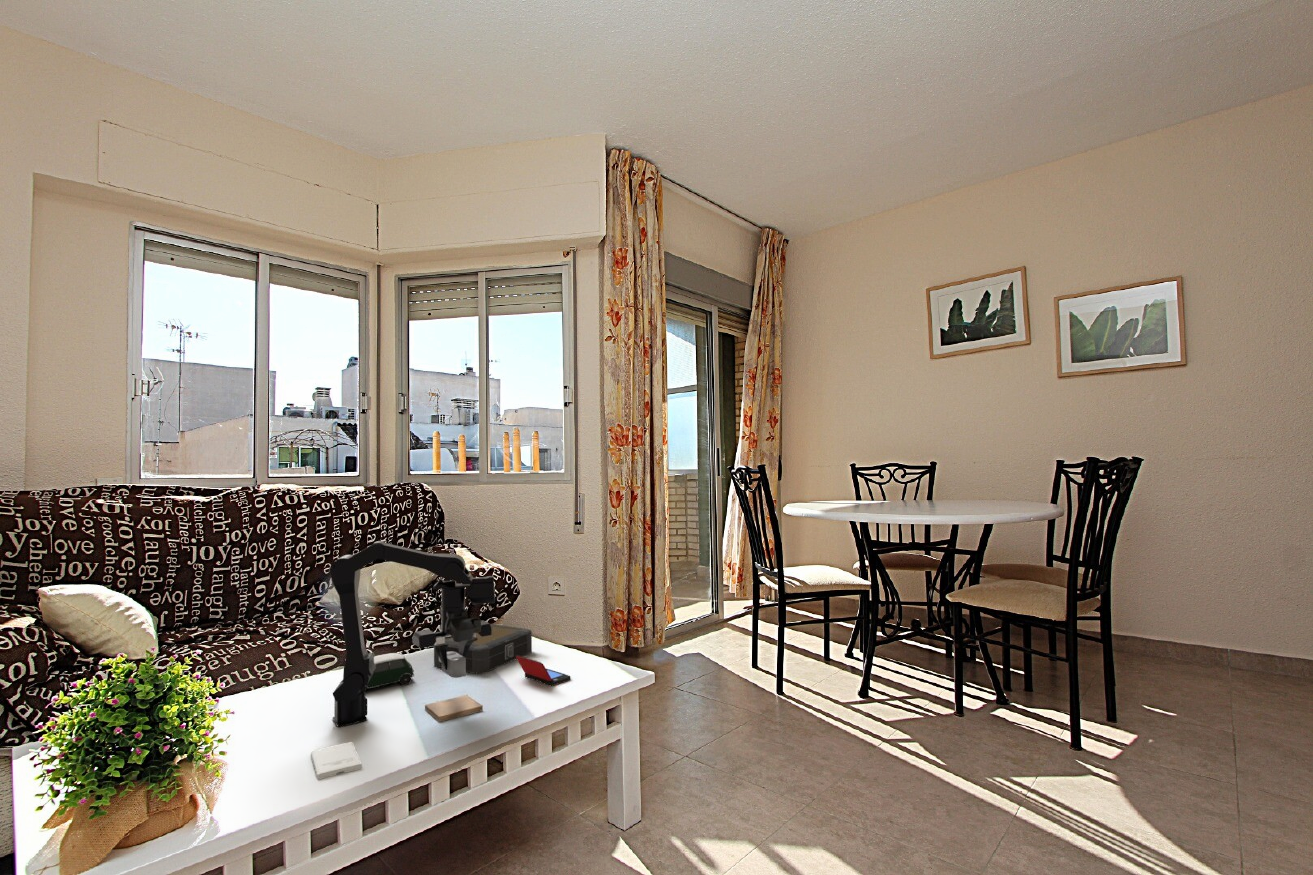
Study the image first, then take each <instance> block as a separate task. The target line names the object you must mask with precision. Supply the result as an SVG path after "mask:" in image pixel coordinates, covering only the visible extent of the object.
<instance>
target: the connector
mask: <svg viewBox="0 0 1313 875" xmlns="http://www.w3.org/2000/svg"><path fill="white" fill-rule="evenodd" d="M439 661H440V662H441V660H440V657H439ZM441 663H442V662H441ZM447 663H448V665H447V670H445V669H444V667H443V665H442V668H441V671H442V672H443V673H445V674H446V675H448V677H451V678H453V679H454V678H455V679H457V678H462V677H465V676H466V675H467V674H466V673H467V672H466V658H465V657H463V656H462V655H460V654H458V653H457V652H453V651H450V652H447Z"/></svg>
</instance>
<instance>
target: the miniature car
mask: <svg viewBox="0 0 1313 875" xmlns="http://www.w3.org/2000/svg"><path fill="white" fill-rule="evenodd" d="M374 663H375V665H376V669H375V670H374V673H373V676H372V677H371V679H370V681H369V682H368V684H367V685H366V687H365V688H364V689H362V690H363V691H364V692H365V693H366V690H367V689H371V688H376V687H381V686H385V685H389V684H395V683H397V682H399V683H400V684H401V685H404V686H405V685H409V684H410V683H411V681H412V678H413V677H415V673H414V672H415V670H414V668H413V666H412V663H410V662H409V661H408V660H407V659H406V656H405V655H404V654H402V653H398V652H391V653H390V652H389V653H384V654H379V655H374Z"/></svg>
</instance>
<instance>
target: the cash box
mask: <svg viewBox="0 0 1313 875" xmlns="http://www.w3.org/2000/svg"><path fill="white" fill-rule="evenodd" d="M490 624H491V623H490ZM491 625H492V635H489V636H483V637H481V636H480V635H479V634H478V633H476V638H478V640H477V641H474V642H473V643H472V644H471V646H470V648H469V650H468V652H467V655H466V673H472V674H476V673H477V674H478V675H482V674H486V673H488V672H490V671H493V670H494V669H497V668H499V667H502V666H504V665H506V664H508V663H511V662H513V661H515V659H516V655H518V656H522V657H525V656H527V655H528V654H531V653H532V651H533V647H532V645H533V643H532V642H533V640H532V639H533V637H532V636H533V633H532V630H531V629H529V628H523V627H516V626H506V625H499V624H491ZM445 643H446V644H448V646H447V652H450V651H453V652H457V653H458V654H459V642H455V641H454V640H453V638H446V639H445ZM524 655H525V656H524ZM516 660H517V659H516ZM433 666H434V667H437V668H440V669H442V663H441V662H440V661H439V655H438V653H437V651H436V649H435V648H434V647H433Z"/></svg>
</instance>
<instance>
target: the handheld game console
mask: <svg viewBox="0 0 1313 875" xmlns="http://www.w3.org/2000/svg"><path fill="white" fill-rule="evenodd" d="M516 661H517V662H518V664H519V665H520V668H521V669H522V670H523V673H524V677H525V678H526V677H527V678H526V679H529V678H530V680H532V679H533V681H536V680H538V681H537V682H540V681H541V682H542V683H541V682H540V683H541V684H544V683H545V685H548V686H549V685H551V686H550V687H553V686H556V685H559V684H562V683H565V682H568V681H570V680H571V676H570V675H569V674H565V673H562V672H558V670H557V671H556V670H553V669H549V668H546V667H545V665H544V663H542V662H541V661H538V660H535V659H532V658H527V657H525V656H518V655H516ZM564 681H565V682H564ZM552 685H553V686H552Z"/></svg>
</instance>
